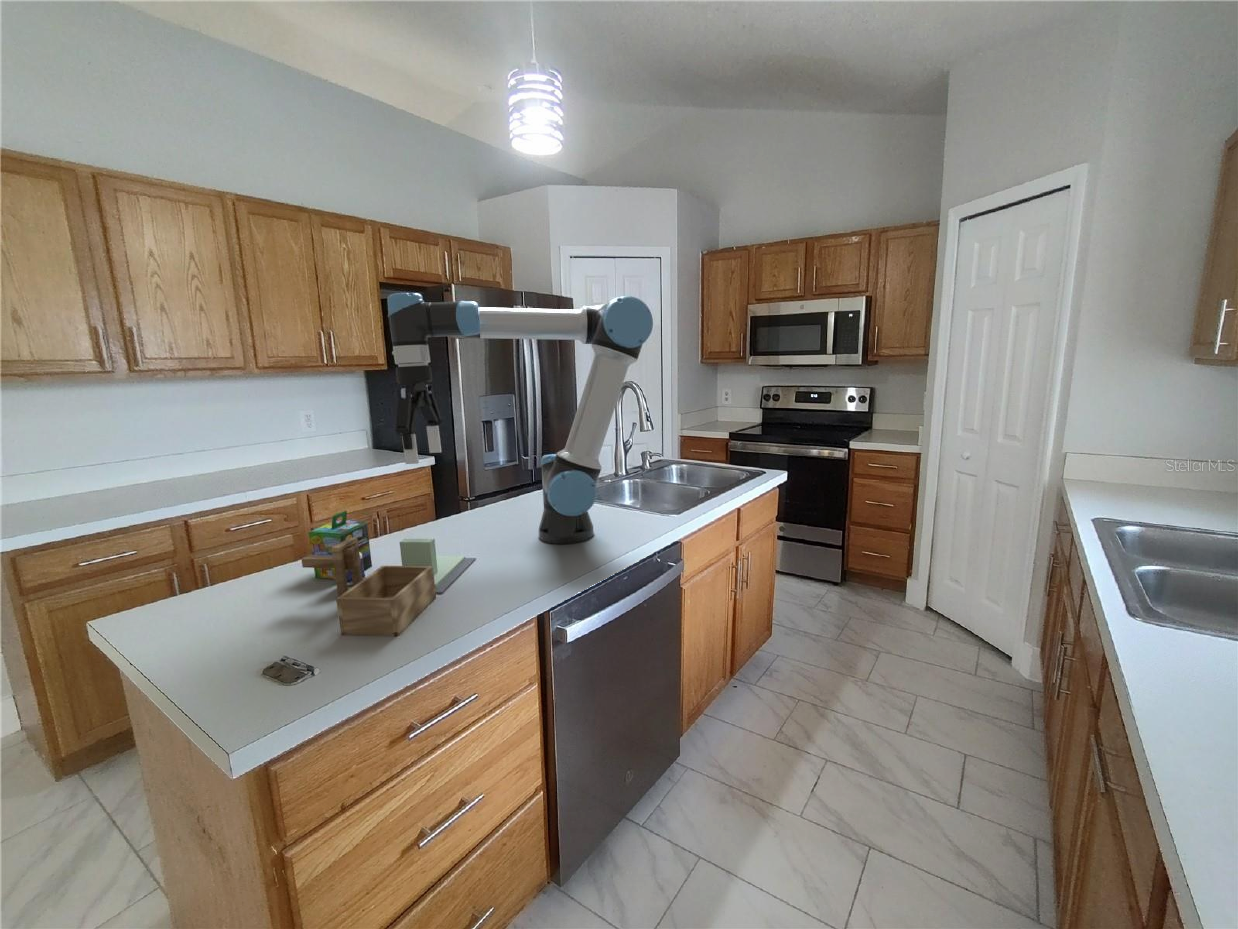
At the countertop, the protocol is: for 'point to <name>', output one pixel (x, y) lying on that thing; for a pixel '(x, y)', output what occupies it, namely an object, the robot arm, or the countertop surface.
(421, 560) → the lid
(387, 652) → the countertop surface
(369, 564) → the chalk box
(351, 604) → the wooden storage box
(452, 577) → the mat
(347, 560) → the brown wooden bar
